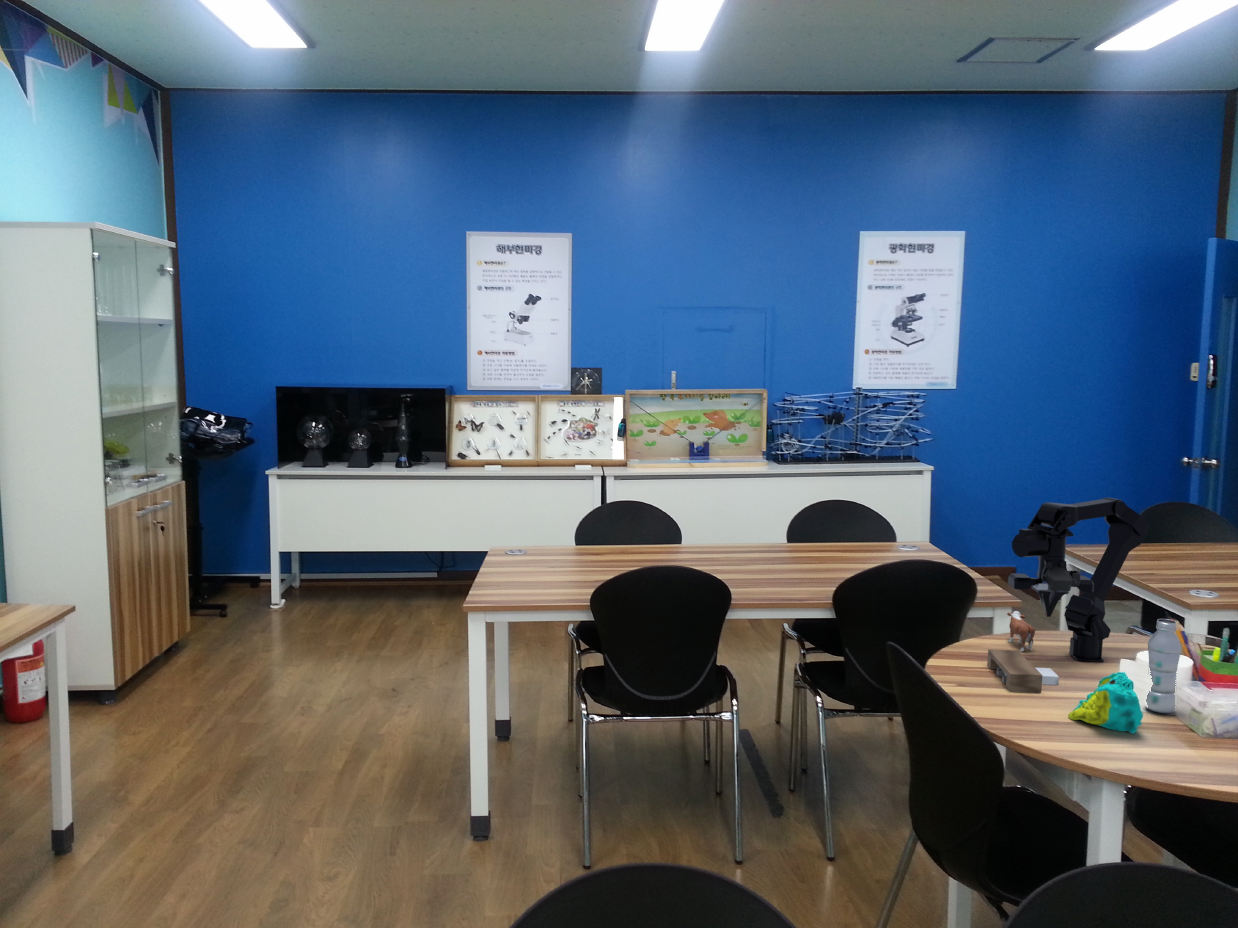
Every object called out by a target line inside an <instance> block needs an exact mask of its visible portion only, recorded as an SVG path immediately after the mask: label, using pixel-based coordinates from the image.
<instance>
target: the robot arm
mask: <svg viewBox="0 0 1238 928" xmlns="http://www.w3.org/2000/svg"><path fill="white" fill-rule="evenodd" d="M1103 517H1104V521H1105V523H1107V525H1108V526H1109V527H1108V530H1107V536H1108V537H1107V539H1108V545H1107V547H1106V549H1105V550H1104V552H1103V554H1102V556H1101V558H1100V560H1099V562H1098V564H1097V566H1096V568H1095V570H1094V571H1093V574H1092V575H1091V578H1089V577H1087V576H1085V575H1081V572H1080V570H1073V569H1072V570H1068V567H1067V565H1068V564H1067V561H1066V549H1067V548H1066V546H1067V538H1069V537H1070V538H1071V537H1074V533H1073V532H1072V531H1071V530H1070V529H1069V528H1073V527H1074V526H1075V525H1076V524H1077V523H1078V522H1081V521H1085V520H1086V521H1087V520H1092V519H1098V518H1103ZM1018 531H1019V532H1018V533H1017V534H1016V535H1014V537H1013V540H1011V548H1012V552H1013V553H1014V555H1016V556H1017V557H1019V558H1030V557H1037V561H1038V571H1036V577H1030V576H1029V575H1027V574H1026V573H1012V572H1011V573H1010V574H1009V575H1008V577H1007V584H1008V585H1009V586H1010V587H1011V588H1013V589H1014V590H1026V591H1027V590H1029V589H1031V590H1034V591H1035V592H1036V593H1037V595H1038V597H1039V600H1040V603H1041V606H1042V609H1043V612H1044V615H1045V616H1046V617H1048V618H1051V616H1052V614H1054V613H1053V612H1054V611H1055V608H1056V606H1057V604H1058V603H1059V601H1060V600H1061V598H1062V597H1063V596H1064V595H1068V594H1069V593H1070V592H1071V589H1072V588H1077V589H1078V590H1079V591H1080V592H1082V593H1081V594H1079V595H1076V594H1072V595H1071V596H1070V598H1069V601H1068V603H1067V605H1066V606H1065V607H1064V609H1065V611H1064V614H1063V616H1064V618H1065V622H1066V627H1067V630H1068V631H1070V632H1071V631H1072V637H1070V641H1069V651H1068V654H1069V655H1071V656H1072V657H1073V658H1074V659H1075V660H1076V661H1081V662H1099V661H1100V662H1102V663H1103V662H1105V659H1104V658H1103V657H1102V656H1103V644H1104V643H1103V641H1104V640H1105V639H1108V638H1109V637H1110V634H1111V628H1110V627H1109V625H1107V623H1106V622H1105V621H1104V619H1105V615H1106V607H1105V600H1106V599H1107V597H1108V594H1109V592H1110V591H1111V589H1112V587H1113V584H1114V583H1115V580H1116V579H1117V576H1118V575H1119V573H1120V571H1121V568H1122V567H1123V565H1124V563H1125V561H1126V558H1127V557H1128V556H1129V553H1130V552H1131V551H1133V550H1134V549H1136V548H1137V547H1139V546H1141V544H1142V543H1143V542H1144V540H1146V537H1147V535H1148V534H1149V532H1150V525H1149V523H1148V521H1147V519H1146V518H1144V517H1143V516H1141V514H1140V513H1138V512H1137V511H1135V510H1133V509H1132V508H1131V507H1129V506H1128V505H1127V504H1126V503H1125V501H1123V500H1121V499H1119V498H1114V497H1113V498H1112V497H1103V498H1101V499H1096V500H1090V501H1082V502H1076V503H1069V504H1068V503H1057V502H1043V503H1042V504H1040V507H1039V508H1038V510H1037V512H1036V513H1035V515H1034V516H1033V518H1032V520H1031V521H1030V523H1029V524H1028V526H1027V528H1020V529H1019V530H1018ZM1100 662H1099V663H1100Z"/></svg>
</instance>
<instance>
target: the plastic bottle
mask: <svg viewBox="0 0 1238 928" xmlns="http://www.w3.org/2000/svg"><path fill="white" fill-rule="evenodd" d="M1155 628H1156V631H1155V632H1154V633H1153V634H1152V635H1151V636H1150V637H1149V639H1148V642H1147V651H1148V669H1149V668H1150V671H1151V672H1150V673H1151V674H1150V675H1151V676H1152V678H1151V679H1152V682H1153V685H1152V687H1151V692H1150V691H1149V693H1148V695H1147V699H1146V702H1147V705H1148V708H1149V709H1150V710H1149V709H1148V708H1147V709H1148V710H1149V711H1152V712H1154V713H1159V714H1172V713H1173V711H1176V709H1175V706H1176V705H1175V695H1174V693H1175V686H1176V687H1177V675H1176V674H1177V673H1176V672H1178V666H1179V662H1180V658H1181V653H1182V644H1181V641H1180V638H1179V637H1178V636H1177V634H1176V633H1175V632H1177V621H1175V620H1172V619H1167V618H1158V619H1157V620H1156V625H1155ZM1175 680H1176V681H1175ZM1175 682H1176V683H1175ZM1175 684H1176V685H1175Z"/></svg>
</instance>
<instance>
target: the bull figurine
mask: <svg viewBox="0 0 1238 928" xmlns="http://www.w3.org/2000/svg"><path fill="white" fill-rule="evenodd" d="M1007 616H1009V617H1011V618H1010V623H1009V631H1010V635H1009V639H1008V641H1007V643H1008V644H1012V643H1013V638H1014V635H1015V636H1016V637H1018V638H1019V642H1018V645H1020V646H1021V648H1020V649H1019V652H1020V653H1021V652H1022V653H1024V651H1025V650H1028V651H1029V650H1030V651H1031V649H1032V647H1033V646H1034V637H1035V634H1036V630H1035V628H1034V627H1033V626H1032V625H1031V624H1030V623H1027V622H1026V621H1025V620H1024V619H1025V618H1026V616H1025V615H1024V614H1021V612H1020V611H1018V610H1015V611H1013V612H1012V613H1011V612H1007ZM1026 644H1028V645H1027V646H1026V649H1025V645H1026Z"/></svg>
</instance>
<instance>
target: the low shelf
mask: <svg viewBox="0 0 1238 928" xmlns="http://www.w3.org/2000/svg"><path fill="white" fill-rule="evenodd" d="M987 650H988V651H987V667H988V668H989V670H996V675H997V677H1001V681H1002V682H1003V684H1006V685H1005V688H1006V690H1007V691H1008V692H1009V693H1029V694H1030V693H1033V694H1042V687H1043V684H1042V674H1041V673H1040V672H1039V671H1038V670H1037V669H1036V668H1037V667H1035V666H1034V665H1033V664H1032V663H1031V662H1030V661H1029V660H1028V659H1027V658H1026V657H1025V656H1024V655H1023V654H1022V653H1021V652H1020V650H1014V649H1011V650H1010V649H989V648H988V649H987ZM1002 670H1003V671H1004V673H1005V674H1006V675H1007V676H1003V671H1002Z"/></svg>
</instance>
